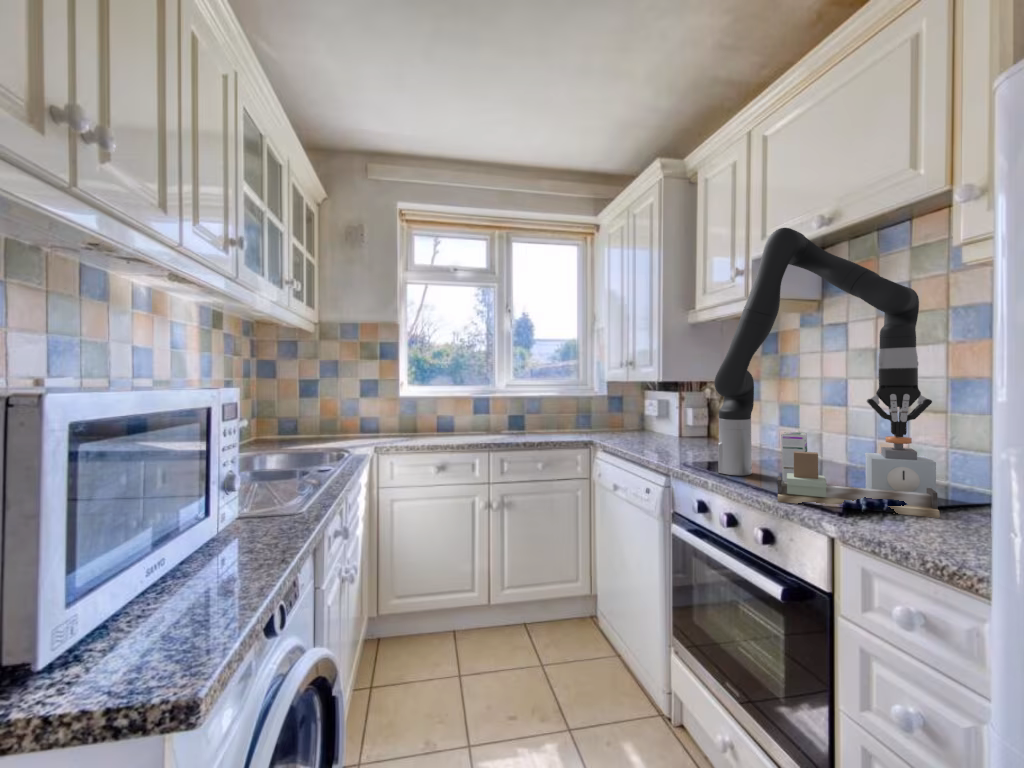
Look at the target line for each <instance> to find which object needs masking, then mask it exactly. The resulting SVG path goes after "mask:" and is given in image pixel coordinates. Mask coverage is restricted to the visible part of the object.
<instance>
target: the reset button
mask: <svg viewBox="0 0 1024 768" xmlns="http://www.w3.org/2000/svg"><path fill="white" fill-rule="evenodd" d="M885 443H888V444H893V447H894V449H895V450H903V448H904V445H907V444H908V445H909V444H912V443H913V442H912V437H908V436H903V437H895V436H894V435H892V436H885Z"/></svg>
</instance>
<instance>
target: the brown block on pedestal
mask: <svg viewBox="0 0 1024 768" xmlns="http://www.w3.org/2000/svg"><path fill="white" fill-rule="evenodd" d="M826 485H827V479H826V477H825V475H820V474H819V453H818V452H813V451H812V452H811V451H807V452H798V451H794V473H787V494H795V495H806V496H816V497H826V488H827V486H826Z"/></svg>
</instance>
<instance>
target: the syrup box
mask: <svg viewBox="0 0 1024 768" xmlns="http://www.w3.org/2000/svg"><path fill="white" fill-rule="evenodd" d="M780 442H781V445H780V446H781V471H782V472H781V474H782V475H781V478H782V482H787V473H794V451H798V452H808V434H807V433H805V432H800V431H799V432H795V431H793V432H792V431H790V432H789V431H788V432H787V431H785V432H784V433H782V434H781V441H780Z"/></svg>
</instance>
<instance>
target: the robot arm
mask: <svg viewBox="0 0 1024 768" xmlns="http://www.w3.org/2000/svg"><path fill="white" fill-rule="evenodd" d="M790 265H791V266H794V267H797V268H800V269H803V270H806V271H809V272H811V273H813V274H815V275H817V276H818V277H820V278H821V279H822V280H825V281H826V282H828V283H830V284H831V285H832V286H834V287H836V288H838V289H839V290H841V291H844V292H845V293H847V294H850V295H852V296H854V297H856V298H859V299H861V300H862V301H864V302H865V303H867V304H868V305H870V306H872V307H873V308H875V309H876V310H878V311H881V312H882V313H884V318H883V326H882V327H881V328H880V331H879V353H878V389H877V390H876V394H875V395H874V396H872V397H870V398H868V399H866V403H867V404H868V405H869V406H870V407H871V408H872V409H873V410H874V411H875V412H876V413H877V414H878V415H879V416H880V417H881V419H884V420H888V421H890V434H892V436H895V437H904V436H906V434H907V423H908V422H909V421H913V420H916V419H917V418H918V417H919V416H920V415H921V414H922V413H924V411H925V410H927V408H928V407H929V406H930V405H931V404H933V400H932V399H929V398H927V397H925V396H923V395H922V392H921V390H920V389H919V361H918V359H919V357H918V352H917V331H916V329H917V323H918V318H919V317H918V316H919V310H920V298H919V295H918V292H917V291H916V290H915V289H913V288H911V287H908V286H904V285H901V284H900V283H898V282H895V281H893V280H890V279H887V278H886V277H883V276H880V274H878V273H877V272H875V271H873V270H871V269H870V268H867V267H865V266H863V265H860V264H858V263H856V262H854V261H851V260H848V259H846V258H843V257H840V256H838V255H834V254H832V253H830V252H828V251H826V250H825V249H823V248H821V247H820V246H818V245H817V244H815V243H814V242H813V241H812V240H810V239H809V238H807V237H806V236H805V235H804V234H803V233H801V232H799V231H797V230H796V229H793V228H790V227H781V228H778V229H776V230H775V231H773V232H772V233H771V234H770V235H769V236H768V238H767V240H766V241H765V244H764V248H763V251H762V255H761V259H760V263H759V266H758V269H757V274H756V277H755V279H754V281H753V284H752V287H751V290H750V292H749V295H748V298H747V300H746V302H745V305H744V306H743V310H742V312H741V315H740V318H739V321H738V324H737V326H736V329H735V332H734V335H733V336H732V337H733V338H732V340H731V342H730V346H729V348H728V350H727V353H726V355H725V357H724V359H723V360H722V363H721V364H720V366H719V368H718V370H717V373H716V375H715V377H714V381H713V382H714V389H715V391H716V392H717V393H718V394H719V395H720V396H721V397H723V403H722V406H721V407H720V409H719V411H718V442H717V443H718V444H717V452H718V453H717V454H718V457H717V460H718V461H717V462H718V464H717V465H718V471H717V472H718V473H719V474H724V475H730V476H749V475H752V473H753V471H752V470H753V469H752V468H753V465H752V461H753V460H752V412H753V409H754V405H755V404H754V403H755V401H754V400H755V399H754V398H755V397H754V396H755V383H754V382H755V381H754V377H753V375H752V373H751V372H750V371H749V370H748V369H749V366H750V364H751V361H752V358H753V357H754V355H755V353H756V352H757V351H758V349H759V348H760V347H761V346H762V345H763V343H764V342H765V341H766V339H767V338H768V336H769V334H770V333H771V331H772V329H773V327H774V325H775V322H776V319H777V316H778V314H779V309H780V305H781V288H782V287H781V286H782V282H783V278H784V275H785V273H786V271H787V268H788V266H790ZM881 402H882V403H883V405H885V406H886V407H887V408H888V412H889V414H888V413H887V412H886V411H884V409H883V408H882V407H881V406H880V403H881ZM915 402H916V403H917V406H916V407H915V408H913V409H912V410H911V411H910V412H909V408H910V407H912V405H914V403H915ZM908 413H909V414H908Z"/></svg>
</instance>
